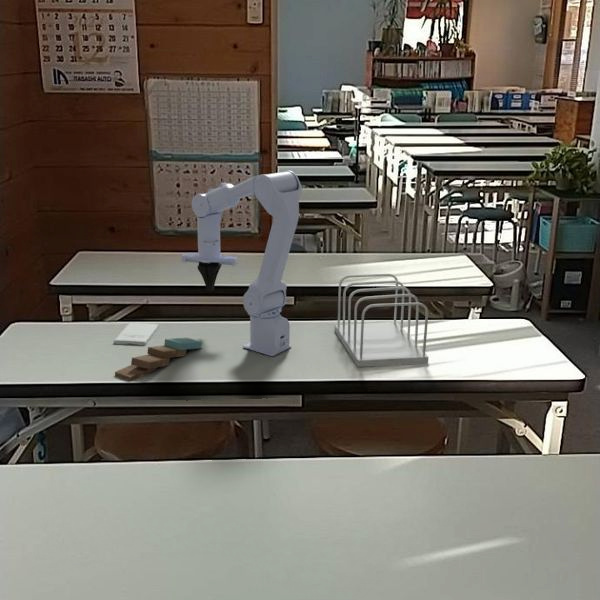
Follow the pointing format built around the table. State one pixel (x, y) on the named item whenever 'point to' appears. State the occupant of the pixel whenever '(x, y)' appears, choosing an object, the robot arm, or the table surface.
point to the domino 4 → (183, 343)
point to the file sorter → (381, 330)
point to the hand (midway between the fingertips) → (210, 290)
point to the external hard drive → (136, 333)
